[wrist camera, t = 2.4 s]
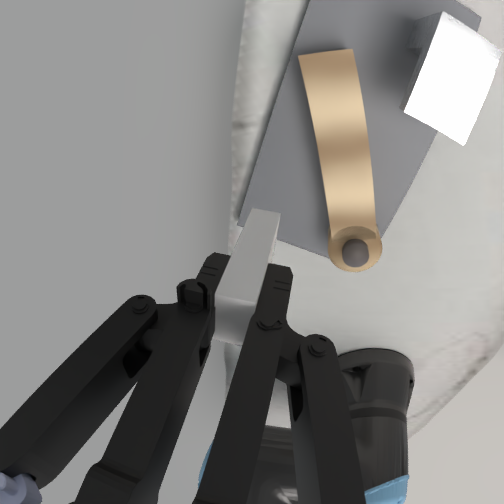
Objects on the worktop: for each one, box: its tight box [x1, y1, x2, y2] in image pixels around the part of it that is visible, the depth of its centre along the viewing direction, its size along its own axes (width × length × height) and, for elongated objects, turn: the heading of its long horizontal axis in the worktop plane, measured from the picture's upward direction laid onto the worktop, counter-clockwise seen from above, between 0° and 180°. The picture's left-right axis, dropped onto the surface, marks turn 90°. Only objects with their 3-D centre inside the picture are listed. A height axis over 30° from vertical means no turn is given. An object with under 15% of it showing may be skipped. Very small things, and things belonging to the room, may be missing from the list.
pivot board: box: [237, 0, 481, 259], centre depth 24 cm, size 29×14×1 cm, turn 164°
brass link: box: [298, 49, 382, 272], centre depth 25 cm, size 20×5×4 cm, turn 14°
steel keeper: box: [399, 11, 502, 145], centre depth 18 cm, size 8×5×8 cm, turn 164°
